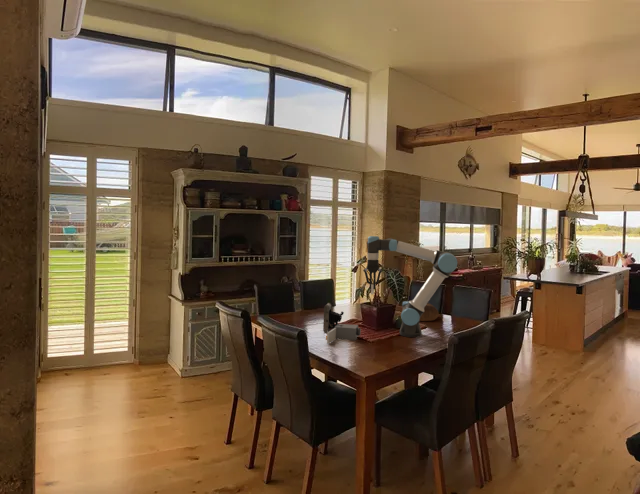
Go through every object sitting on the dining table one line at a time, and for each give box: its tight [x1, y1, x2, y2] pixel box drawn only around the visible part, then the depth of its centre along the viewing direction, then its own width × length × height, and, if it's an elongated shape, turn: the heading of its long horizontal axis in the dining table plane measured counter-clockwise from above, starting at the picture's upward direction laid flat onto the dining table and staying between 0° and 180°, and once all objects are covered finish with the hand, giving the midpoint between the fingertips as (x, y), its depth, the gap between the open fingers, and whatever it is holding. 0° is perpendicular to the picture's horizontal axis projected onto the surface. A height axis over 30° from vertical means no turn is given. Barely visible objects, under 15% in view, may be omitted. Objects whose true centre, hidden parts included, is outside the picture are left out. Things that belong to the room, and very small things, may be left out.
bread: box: [419, 302, 439, 322], centre depth 346 cm, size 26×27×13 cm
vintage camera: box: [322, 302, 344, 334], centre depth 301 cm, size 10×16×20 cm, turn 78°
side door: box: [325, 328, 337, 345], centre depth 277 cm, size 14×2×7 cm, turn 157°
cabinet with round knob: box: [335, 323, 362, 341], centre depth 286 cm, size 16×9×9 cm, turn 75°
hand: (372, 294), depth 287 cm, fingers closed
